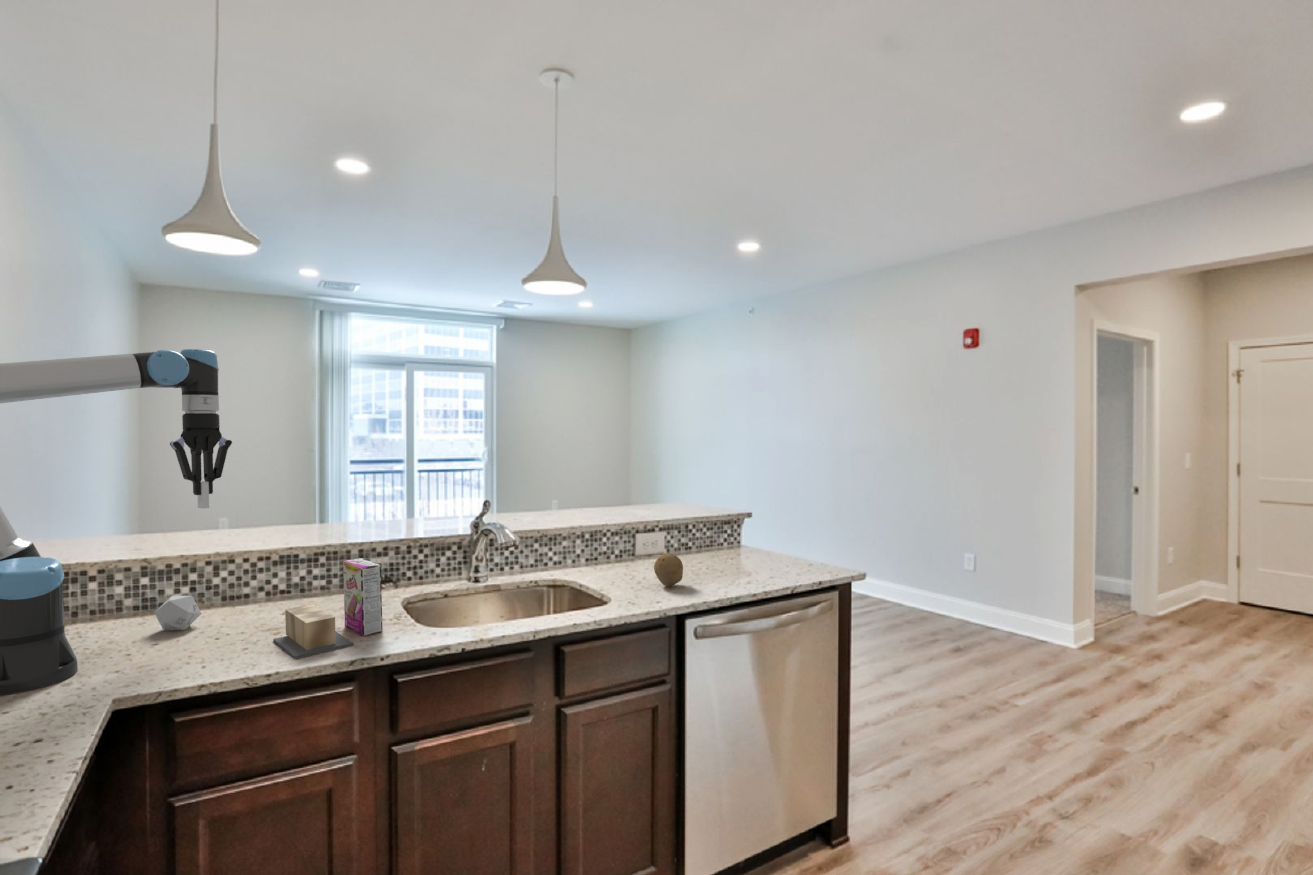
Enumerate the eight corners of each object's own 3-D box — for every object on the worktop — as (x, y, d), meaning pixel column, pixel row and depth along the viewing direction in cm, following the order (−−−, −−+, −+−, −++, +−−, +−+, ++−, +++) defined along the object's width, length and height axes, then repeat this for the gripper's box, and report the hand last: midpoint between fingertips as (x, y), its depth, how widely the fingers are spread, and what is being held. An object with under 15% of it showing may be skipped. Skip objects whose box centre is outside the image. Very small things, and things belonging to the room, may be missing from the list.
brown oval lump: (657, 581, 203) (657, 549, 203) (686, 582, 202) (685, 550, 201) (651, 589, 194) (651, 555, 194) (681, 590, 193) (681, 556, 192)
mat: (295, 659, 140) (295, 656, 140) (273, 641, 151) (273, 638, 151) (353, 645, 148) (353, 642, 148) (328, 629, 159) (328, 626, 159)
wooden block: (285, 634, 154) (306, 650, 143) (285, 609, 154) (306, 622, 143) (313, 628, 158) (335, 643, 147) (312, 603, 158) (335, 616, 147)
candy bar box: (343, 627, 161) (341, 560, 161) (363, 622, 165) (362, 557, 164) (362, 637, 154) (361, 567, 153) (383, 631, 157) (382, 563, 157)
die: (165, 639, 155) (194, 603, 158) (138, 620, 157) (167, 584, 159) (188, 640, 163) (215, 606, 166) (162, 622, 164) (190, 588, 167)
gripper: (175, 412, 155) (178, 512, 155) (236, 412, 165) (239, 505, 166) (163, 412, 159) (166, 509, 160) (223, 412, 170) (226, 503, 170)
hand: (203, 507), depth 163 cm, fingers closed
